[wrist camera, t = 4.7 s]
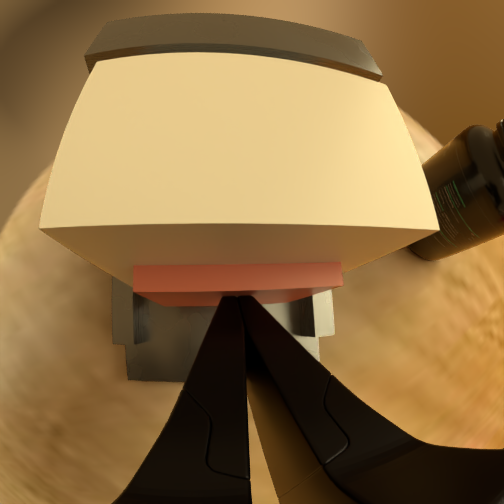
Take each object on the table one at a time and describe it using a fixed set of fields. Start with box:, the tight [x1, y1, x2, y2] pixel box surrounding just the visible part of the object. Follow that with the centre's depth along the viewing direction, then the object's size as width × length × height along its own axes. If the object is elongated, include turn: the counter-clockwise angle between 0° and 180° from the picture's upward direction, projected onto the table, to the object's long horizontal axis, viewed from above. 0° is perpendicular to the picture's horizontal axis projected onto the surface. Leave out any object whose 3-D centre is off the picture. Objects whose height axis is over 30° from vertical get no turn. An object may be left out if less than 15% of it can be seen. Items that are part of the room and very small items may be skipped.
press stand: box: [84, 13, 383, 382], centre depth 10 cm, size 13×10×10 cm
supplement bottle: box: [408, 119, 504, 260], centre depth 13 cm, size 7×7×12 cm
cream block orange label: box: [39, 52, 440, 306], centre depth 9 cm, size 5×7×10 cm, turn 93°
